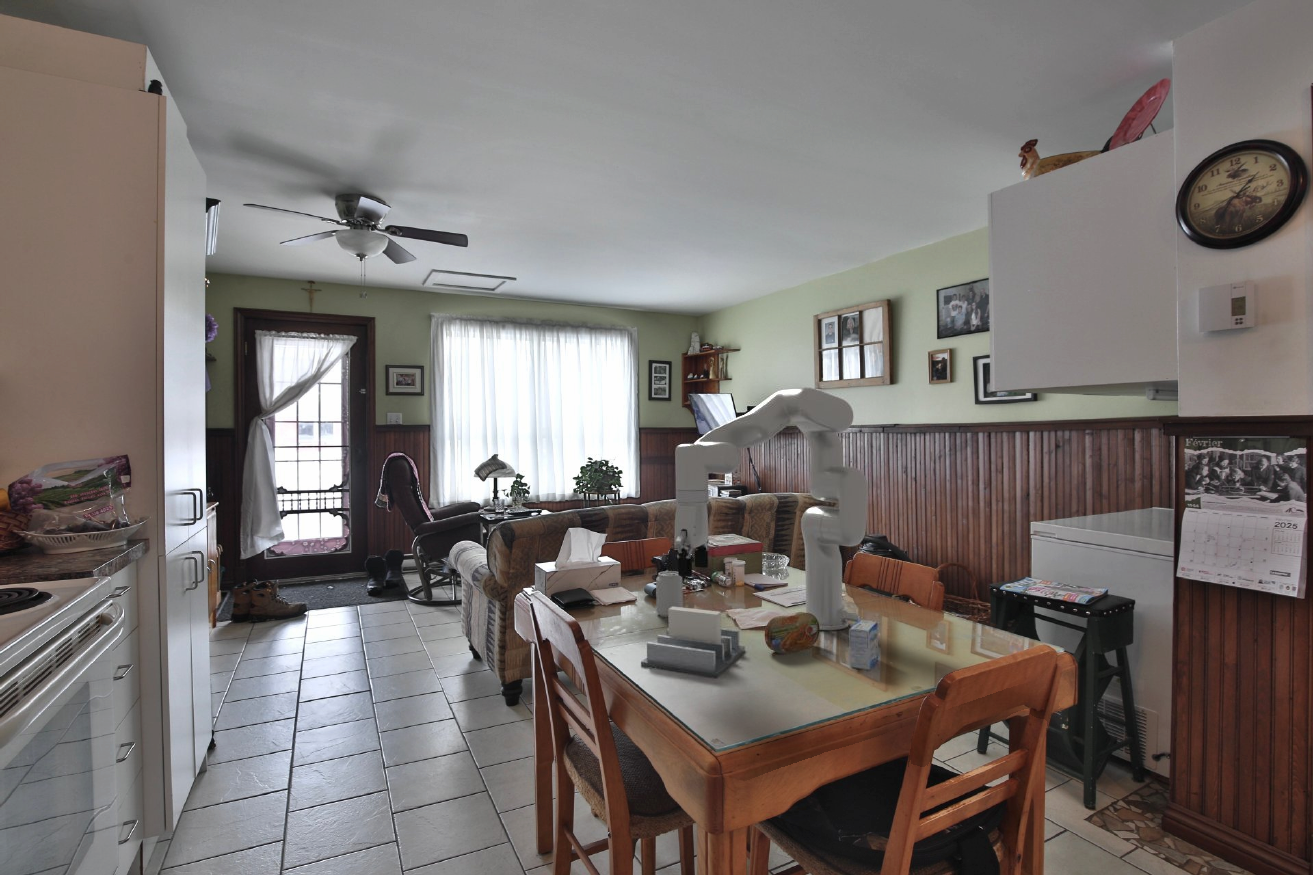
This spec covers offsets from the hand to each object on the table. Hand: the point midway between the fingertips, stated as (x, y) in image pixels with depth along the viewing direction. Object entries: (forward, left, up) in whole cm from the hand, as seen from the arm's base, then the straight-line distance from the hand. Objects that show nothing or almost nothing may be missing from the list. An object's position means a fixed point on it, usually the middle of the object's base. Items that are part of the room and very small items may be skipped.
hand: (693, 571), depth 150 cm
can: (+20, -30, -20) cm, 41 cm away
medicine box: (-36, -12, -20) cm, 43 cm away
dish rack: (0, 0, -20) cm, 20 cm away
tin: (-19, -15, -20) cm, 32 cm away
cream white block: (0, 0, -19) cm, 19 cm away
